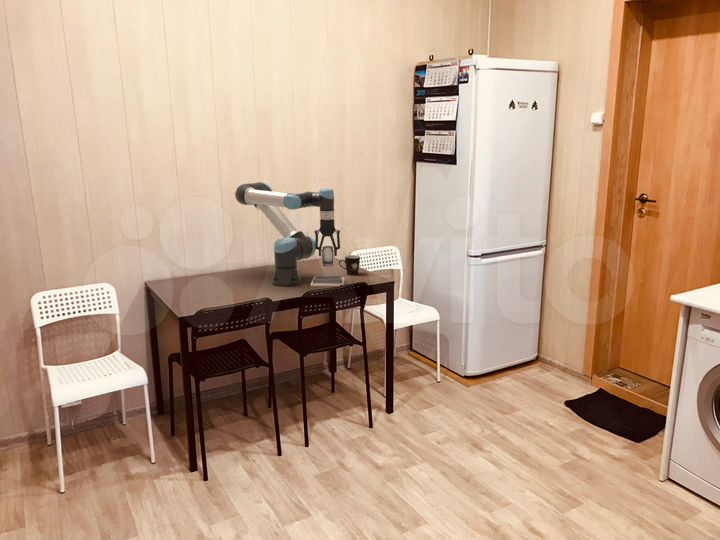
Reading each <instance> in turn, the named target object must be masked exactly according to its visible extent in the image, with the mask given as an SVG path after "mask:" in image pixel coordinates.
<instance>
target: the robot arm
mask: <svg viewBox="0 0 720 540" xmlns="http://www.w3.org/2000/svg"><path fill="white" fill-rule="evenodd" d="M334 192H335V191H334V189H331V188H322V189H321V188H320V189H319V190H318V192H317V191H316V192H315V191H303V192H301V193H290V192H280V191H273V189H272V187H271V186H270V185H269V184H268V183H266V182H261V181H257V182H255V183H254V182H253V183H251V182H249V183H243V184H240V185H239V186H238V187H236V189H235V191H234V196H235V197H234V198H235V199H236V201H237V202H238V203H239V204H241V205H244V206H254V207H255V208H256V209H257V210H258V211H261V212H262V213H263V214H264V215H265V217H266V218H267V220H269V222H270V223H271V224H272V225H273V227H274V228H275V229H276V230H277V232H279V234H280V236H281V237H282V238H280V239H276V240H275V242H274V245H273V251H274V252H273V254H274V272H273V275H272V278H271V281H272V282H271V283H272V285H274V286H278V287H291V286H297V285H299V284H301V282H302V280H301V279H302V278H301V275H300V273H299V270H298V261H302V260H306V259H309V258H312V257H313V256H314V255H315V253H316V250H318V256H319V257H320V263H322V264H323V243H324V241H325V238H326V237H329V238H330V239H331V244H332V247H333V264H334V263H336V257H337V254H338V250H340V249H341V237H340V234H341V230H340V229H336V227H335V226H336V225H335V193H334ZM310 207H318V208H319V218H320V219H319V229H315V230H314V235H315V236H314V237H315V239H314V238H313V237H312V236H309V235H306V234H305V233H304V232H303V231H302V230H298V229H297V228H296V226H294V224H293V223H292V221H290V220H289V217H287V216H286V214H285V213H284V212H283V211H282V209H281V208H286V209H288V210H294V211H295V210H298V209H304V208H310ZM320 233H321V235H322V236H321V238H320V243H319V234H320ZM334 233H335V235H336V241H335V238H334V235H333V234H334ZM336 244H337V245H336Z"/></svg>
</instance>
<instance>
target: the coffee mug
mask: <svg viewBox="0 0 720 540" xmlns="http://www.w3.org/2000/svg"><path fill="white" fill-rule="evenodd" d="M360 260H361V256H360V255H356V254H355V255H354V254H349V255H345V256H344V259H339V262H338V265H339V266H340V268H343V269H344V270H345V271H346V275H348V276H357V275H359V271H360V270H359V269H360ZM342 261H343V262H344V263H345V267H344V266H343V265H341V262H342Z"/></svg>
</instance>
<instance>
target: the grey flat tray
mask: <svg viewBox="0 0 720 540" xmlns="http://www.w3.org/2000/svg"><path fill="white" fill-rule="evenodd" d="M310 282H311V283H310V287H341V286H340V285H343V286H344V283H345V277H343V275H314V276H313V278H312V280H311V281H310Z"/></svg>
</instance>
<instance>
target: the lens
mask: <svg viewBox="0 0 720 540" xmlns="http://www.w3.org/2000/svg"><path fill="white" fill-rule="evenodd" d="M322 250H323V263H322V266H323V267H329V268H330V267H333V266H334V263H333V250H334V247H333V245H324V246H323V245H322Z"/></svg>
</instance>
